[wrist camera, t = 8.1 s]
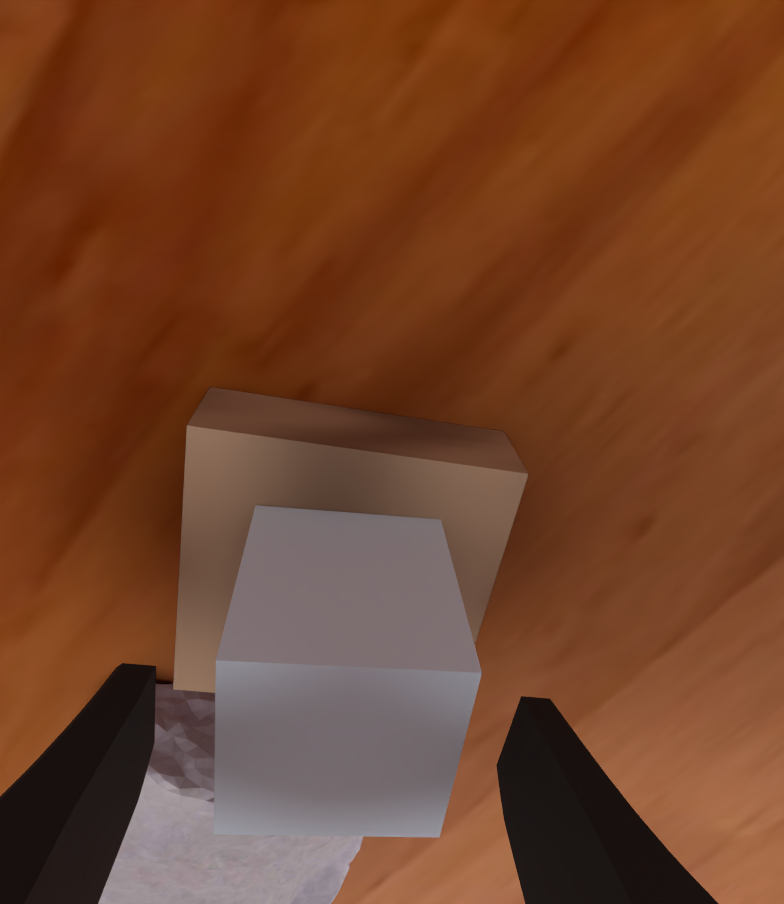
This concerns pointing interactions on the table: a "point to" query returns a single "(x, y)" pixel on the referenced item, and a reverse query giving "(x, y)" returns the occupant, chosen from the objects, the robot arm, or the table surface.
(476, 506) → the tan square block
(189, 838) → the stone block
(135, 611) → the table surface
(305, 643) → the light grey block
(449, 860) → the table surface
